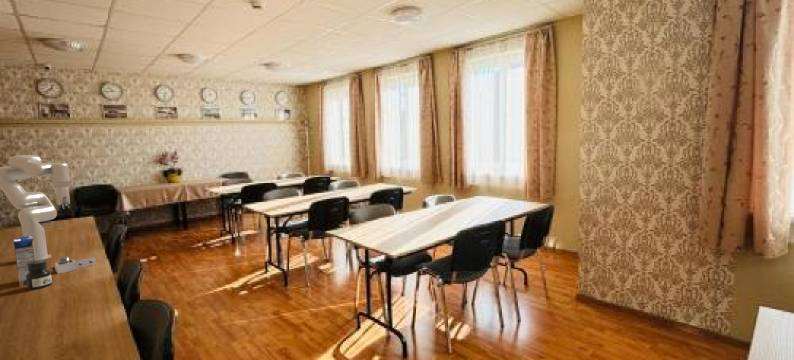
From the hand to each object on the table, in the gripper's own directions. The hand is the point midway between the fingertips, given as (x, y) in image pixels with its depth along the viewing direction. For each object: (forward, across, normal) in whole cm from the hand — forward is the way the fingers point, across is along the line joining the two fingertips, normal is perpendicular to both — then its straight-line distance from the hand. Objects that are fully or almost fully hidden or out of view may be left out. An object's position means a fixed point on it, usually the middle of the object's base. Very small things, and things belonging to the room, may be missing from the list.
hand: (65, 214), depth 226 cm
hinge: (+28, +14, 0) cm, 31 cm away
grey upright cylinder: (+28, +18, -5) cm, 34 cm away
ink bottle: (+28, +39, -17) cm, 51 cm away
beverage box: (+28, +25, -20) cm, 43 cm away
